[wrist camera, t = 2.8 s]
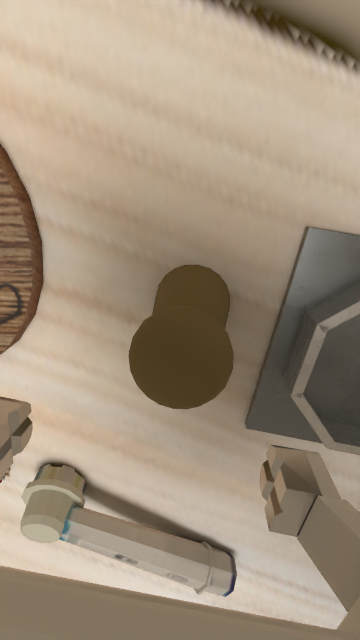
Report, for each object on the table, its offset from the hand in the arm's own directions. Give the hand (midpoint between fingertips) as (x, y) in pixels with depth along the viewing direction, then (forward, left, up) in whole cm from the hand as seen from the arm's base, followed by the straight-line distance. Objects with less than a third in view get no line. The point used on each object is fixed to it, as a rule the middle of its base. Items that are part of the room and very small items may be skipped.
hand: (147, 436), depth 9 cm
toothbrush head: (+1, +27, -15) cm, 31 cm away
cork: (-1, 0, -15) cm, 15 cm away
